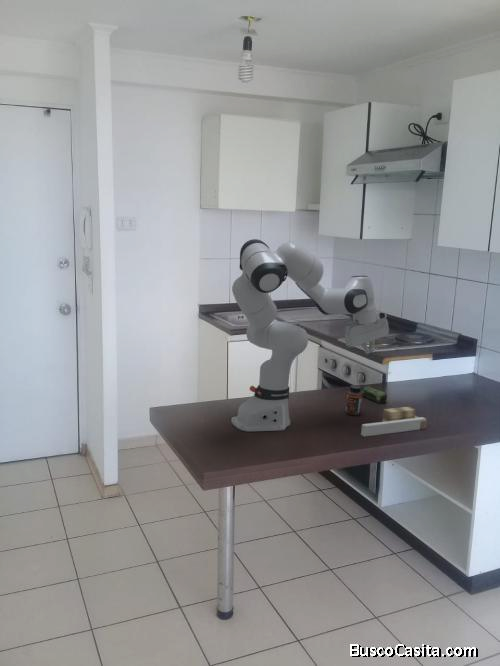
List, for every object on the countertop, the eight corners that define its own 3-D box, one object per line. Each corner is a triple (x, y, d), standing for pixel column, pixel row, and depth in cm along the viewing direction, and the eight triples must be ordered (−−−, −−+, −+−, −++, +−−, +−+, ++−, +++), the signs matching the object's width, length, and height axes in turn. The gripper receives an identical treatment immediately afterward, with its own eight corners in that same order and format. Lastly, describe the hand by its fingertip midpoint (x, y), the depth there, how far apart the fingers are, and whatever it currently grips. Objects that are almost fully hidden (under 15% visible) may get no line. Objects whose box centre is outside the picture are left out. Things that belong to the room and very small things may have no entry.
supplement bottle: (343, 413, 245) (345, 387, 242) (348, 410, 250) (350, 383, 248) (357, 416, 242) (360, 389, 240) (362, 412, 247) (364, 386, 245)
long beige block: (388, 430, 229) (390, 412, 227) (381, 426, 232) (383, 409, 231) (413, 427, 234) (415, 409, 232) (407, 423, 237) (408, 406, 236)
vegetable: (389, 403, 262) (390, 392, 261) (380, 404, 259) (381, 393, 258) (366, 394, 274) (367, 383, 273) (357, 395, 271) (358, 385, 270)
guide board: (364, 436, 220) (365, 426, 220) (345, 425, 231) (346, 415, 230) (425, 428, 232) (427, 418, 231) (405, 418, 243) (406, 408, 242)
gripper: (350, 324, 221) (355, 360, 224) (389, 312, 232) (393, 346, 234) (338, 323, 226) (343, 358, 229) (377, 311, 237) (381, 345, 240)
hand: (369, 352), depth 232 cm, fingers closed
